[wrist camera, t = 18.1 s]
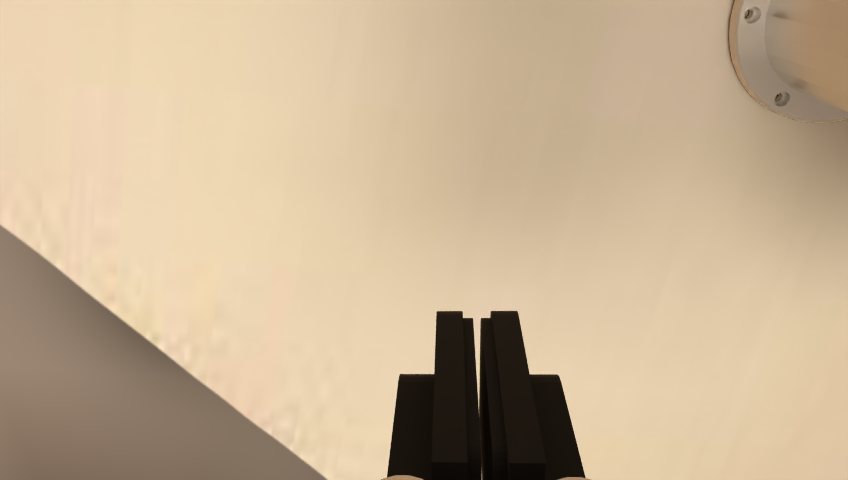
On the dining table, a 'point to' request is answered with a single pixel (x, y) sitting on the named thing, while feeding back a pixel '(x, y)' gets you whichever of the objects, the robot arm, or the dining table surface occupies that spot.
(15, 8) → the dining table surface
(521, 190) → the dining table surface
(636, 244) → the dining table surface
